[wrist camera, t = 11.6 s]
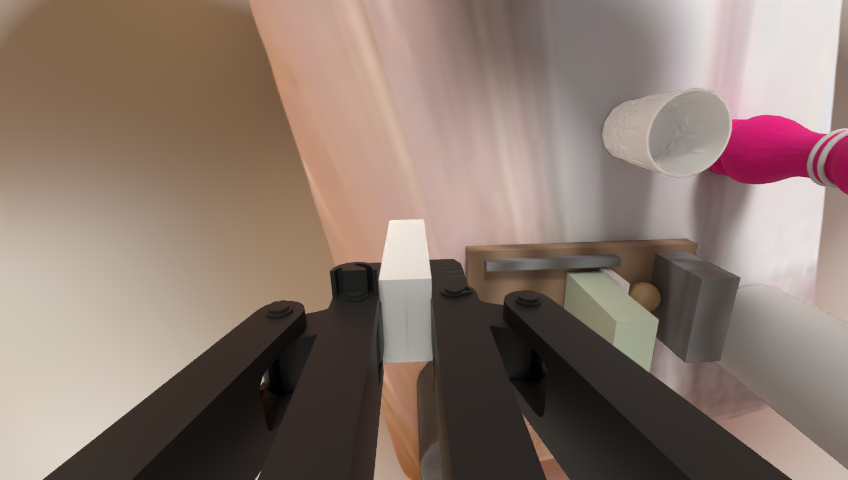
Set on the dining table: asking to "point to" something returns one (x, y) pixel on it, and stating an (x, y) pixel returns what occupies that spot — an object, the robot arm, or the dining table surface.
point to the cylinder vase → (792, 362)
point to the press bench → (637, 264)
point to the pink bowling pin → (783, 153)
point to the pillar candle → (428, 426)
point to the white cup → (670, 131)
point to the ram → (612, 312)
